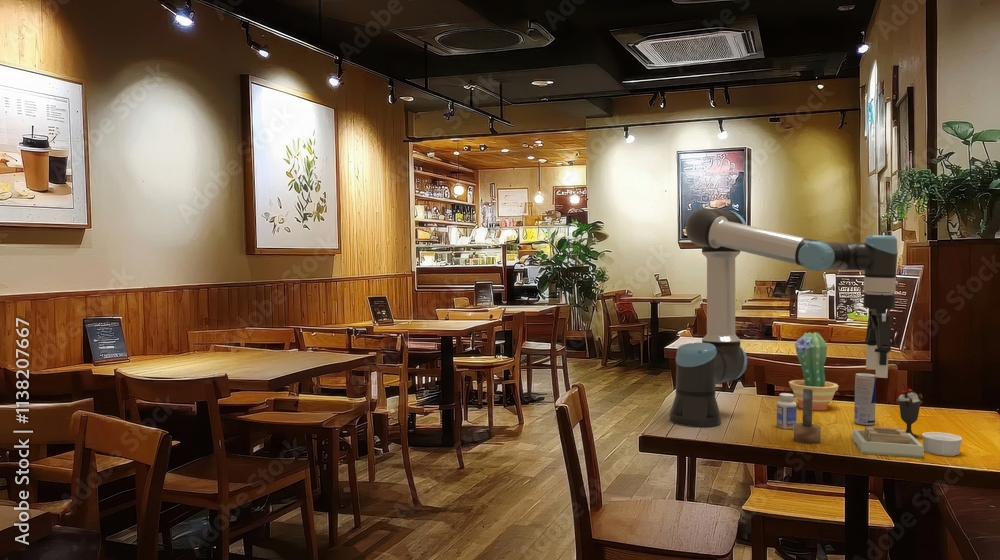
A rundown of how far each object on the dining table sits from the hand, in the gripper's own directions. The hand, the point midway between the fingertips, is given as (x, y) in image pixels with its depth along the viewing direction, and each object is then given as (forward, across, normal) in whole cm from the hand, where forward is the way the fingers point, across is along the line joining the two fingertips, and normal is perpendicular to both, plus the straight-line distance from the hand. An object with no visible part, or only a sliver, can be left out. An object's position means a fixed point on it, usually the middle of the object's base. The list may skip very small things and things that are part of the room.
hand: (876, 373), depth 194 cm
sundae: (+19, +14, -11) cm, 26 cm away
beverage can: (+20, +27, -2) cm, 33 cm away
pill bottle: (+20, +14, +21) cm, 32 cm away
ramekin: (+19, -2, -16) cm, 25 cm away
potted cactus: (+20, +48, +10) cm, 52 cm away
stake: (+20, 0, +16) cm, 26 cm away
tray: (+19, -3, -2) cm, 20 cm away
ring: (+19, -3, -2) cm, 19 cm away
